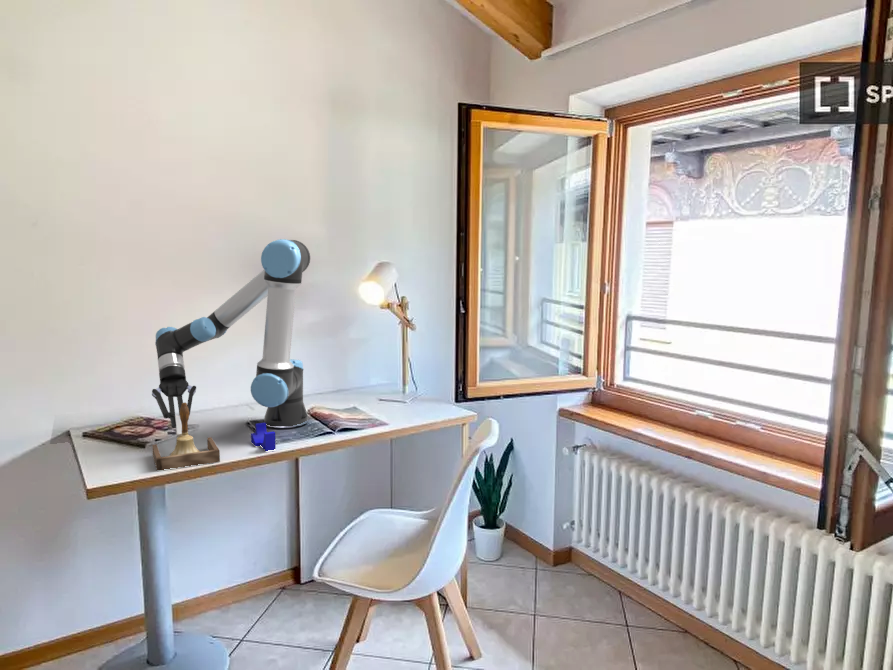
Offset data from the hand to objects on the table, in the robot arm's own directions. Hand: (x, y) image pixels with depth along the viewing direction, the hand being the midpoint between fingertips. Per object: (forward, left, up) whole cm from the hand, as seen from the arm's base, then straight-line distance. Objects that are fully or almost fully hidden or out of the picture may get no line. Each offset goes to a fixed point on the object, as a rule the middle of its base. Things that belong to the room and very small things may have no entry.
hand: (179, 436), depth 176 cm
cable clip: (-23, +5, -5) cm, 24 cm away
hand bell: (-1, +3, -5) cm, 6 cm away
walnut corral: (-1, +6, -5) cm, 8 cm away
